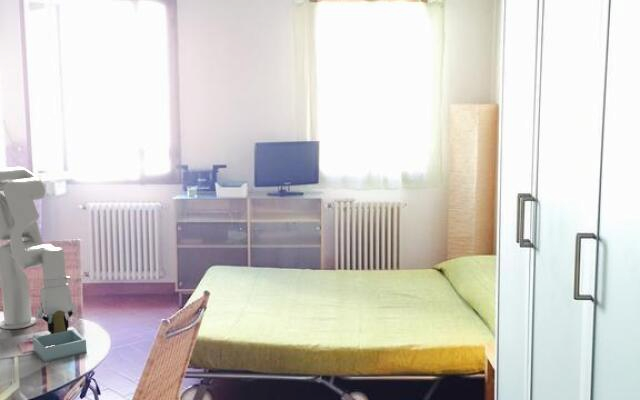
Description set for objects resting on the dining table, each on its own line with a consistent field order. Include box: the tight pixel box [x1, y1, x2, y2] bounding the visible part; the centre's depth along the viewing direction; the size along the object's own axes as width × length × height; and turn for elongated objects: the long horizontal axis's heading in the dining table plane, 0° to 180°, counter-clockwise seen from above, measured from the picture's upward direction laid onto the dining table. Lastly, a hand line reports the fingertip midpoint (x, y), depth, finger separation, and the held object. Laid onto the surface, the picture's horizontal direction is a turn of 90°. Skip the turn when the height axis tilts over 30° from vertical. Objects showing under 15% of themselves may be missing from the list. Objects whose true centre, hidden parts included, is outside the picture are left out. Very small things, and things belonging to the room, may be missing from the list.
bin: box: [32, 329, 87, 363], centre depth 226 cm, size 14×14×4 cm
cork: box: [49, 310, 66, 334], centre depth 240 cm, size 6×6×11 cm
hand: (58, 331), depth 241 cm, fingers closed on cork, 4 cm apart
